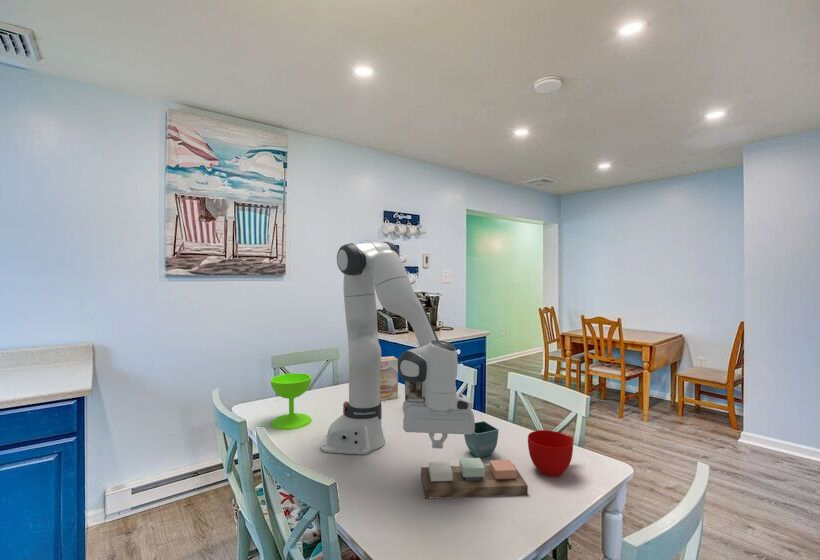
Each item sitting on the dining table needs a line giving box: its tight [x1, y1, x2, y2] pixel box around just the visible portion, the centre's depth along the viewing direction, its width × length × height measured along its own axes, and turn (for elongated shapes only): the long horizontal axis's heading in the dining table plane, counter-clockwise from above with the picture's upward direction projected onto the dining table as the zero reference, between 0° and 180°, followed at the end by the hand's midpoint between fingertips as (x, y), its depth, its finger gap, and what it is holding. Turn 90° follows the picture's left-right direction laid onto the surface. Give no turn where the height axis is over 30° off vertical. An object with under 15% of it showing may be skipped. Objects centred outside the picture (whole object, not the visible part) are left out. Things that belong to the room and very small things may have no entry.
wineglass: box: [270, 372, 313, 431], centre depth 161 cm, size 16×16×18 cm
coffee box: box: [404, 380, 425, 402], centre depth 173 cm, size 9×6×16 cm
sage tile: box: [458, 457, 485, 481], centre depth 112 cm, size 6×6×5 cm
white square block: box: [428, 461, 453, 482], centre depth 112 cm, size 6×6×5 cm
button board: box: [420, 463, 529, 499], centre depth 112 cm, size 28×12×2 cm, turn 93°
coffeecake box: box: [380, 355, 399, 402], centre depth 191 cm, size 15×7×20 cm, turn 111°
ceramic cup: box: [527, 429, 574, 478], centre depth 121 cm, size 13×17×10 cm
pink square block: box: [489, 459, 518, 480], centre depth 113 cm, size 6×6×5 cm
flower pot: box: [463, 420, 500, 459], centre depth 132 cm, size 9×9×9 cm
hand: (437, 447), depth 112 cm, fingers closed
